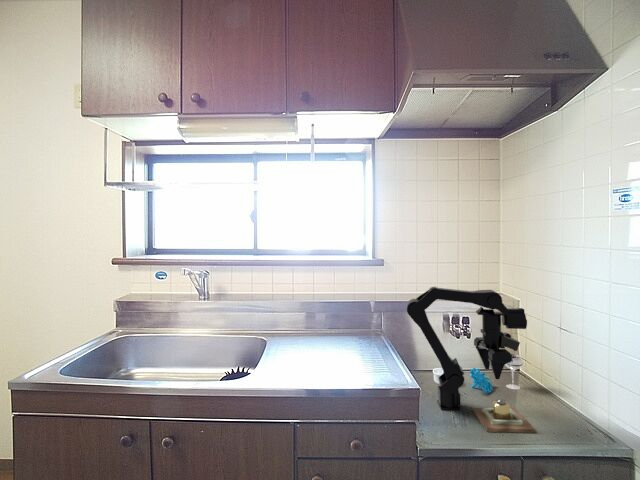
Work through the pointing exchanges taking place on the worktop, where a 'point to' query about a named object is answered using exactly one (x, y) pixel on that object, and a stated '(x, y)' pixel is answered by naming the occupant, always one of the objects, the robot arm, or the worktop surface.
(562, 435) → the worktop surface
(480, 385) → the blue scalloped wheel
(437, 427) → the worktop surface
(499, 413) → the tan two-tone cylinder
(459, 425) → the worktop surface
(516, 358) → the wineglass
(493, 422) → the carrier board
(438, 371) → the ramekin
